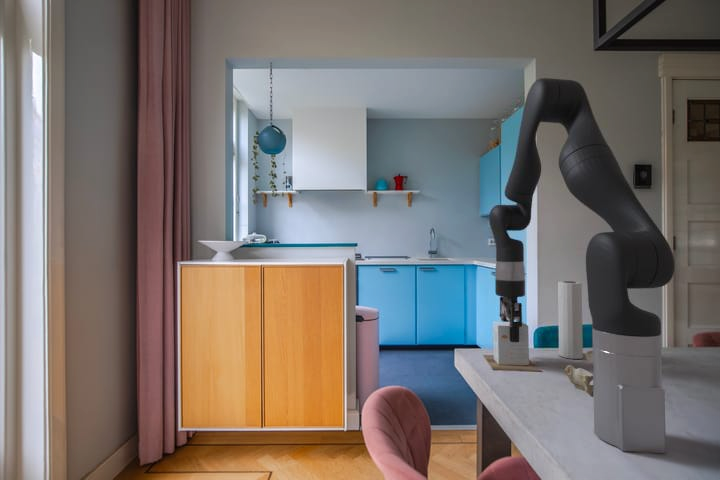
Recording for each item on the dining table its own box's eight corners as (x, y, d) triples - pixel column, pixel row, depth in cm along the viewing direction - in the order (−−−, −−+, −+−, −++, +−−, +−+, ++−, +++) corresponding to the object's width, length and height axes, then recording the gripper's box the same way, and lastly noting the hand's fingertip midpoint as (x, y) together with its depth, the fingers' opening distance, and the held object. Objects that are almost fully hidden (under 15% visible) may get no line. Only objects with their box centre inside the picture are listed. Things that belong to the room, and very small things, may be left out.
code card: (542, 371, 98) (542, 371, 98) (492, 369, 100) (492, 369, 100) (526, 356, 112) (526, 356, 112) (483, 355, 113) (483, 354, 113)
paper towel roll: (573, 360, 108) (572, 282, 108) (554, 355, 113) (553, 281, 114) (590, 357, 111) (589, 281, 112) (570, 352, 116) (569, 280, 117)
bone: (561, 386, 83) (566, 341, 87) (562, 393, 88) (567, 350, 92) (609, 397, 78) (611, 349, 83) (608, 404, 83) (610, 358, 87)
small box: (522, 359, 108) (522, 321, 108) (529, 365, 102) (529, 325, 103) (492, 359, 109) (492, 321, 109) (498, 365, 103) (497, 324, 104)
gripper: (532, 280, 99) (532, 345, 99) (517, 276, 113) (517, 332, 113) (501, 280, 100) (501, 344, 100) (490, 276, 114) (490, 332, 114)
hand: (510, 338), depth 106 cm, fingers open, 8 cm apart
